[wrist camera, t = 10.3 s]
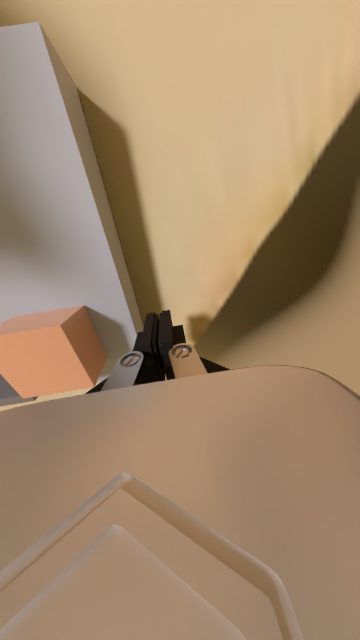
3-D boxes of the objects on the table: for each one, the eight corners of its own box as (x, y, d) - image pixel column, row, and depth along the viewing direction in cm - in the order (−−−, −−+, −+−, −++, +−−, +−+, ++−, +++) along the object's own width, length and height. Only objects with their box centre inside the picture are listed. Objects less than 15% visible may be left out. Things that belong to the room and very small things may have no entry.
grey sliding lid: (76, 86, 9) (38, 21, 6) (150, 352, 18) (148, 373, 15) (-107, 111, 9) (-225, 56, 6) (60, 367, 18) (42, 390, 15)
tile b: (83, 305, 12) (59, 325, 9) (107, 358, 14) (94, 386, 11) (14, 316, 11) (-31, 339, 9) (50, 367, 14) (23, 398, 11)
